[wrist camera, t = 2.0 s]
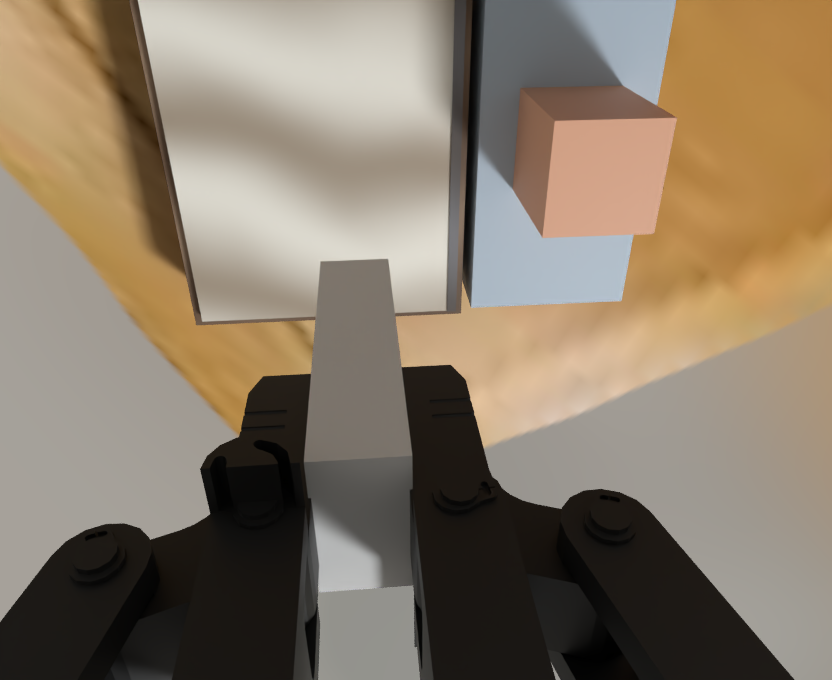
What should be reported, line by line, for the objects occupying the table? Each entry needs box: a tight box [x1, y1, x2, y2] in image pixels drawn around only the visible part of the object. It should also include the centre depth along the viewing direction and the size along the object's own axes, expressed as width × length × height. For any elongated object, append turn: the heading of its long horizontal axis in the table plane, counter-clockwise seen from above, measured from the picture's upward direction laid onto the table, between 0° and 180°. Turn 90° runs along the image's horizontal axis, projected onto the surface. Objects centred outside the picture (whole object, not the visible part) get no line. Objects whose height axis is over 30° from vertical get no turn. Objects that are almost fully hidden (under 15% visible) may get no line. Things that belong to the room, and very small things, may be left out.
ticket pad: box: [129, 0, 473, 325], centre depth 27 cm, size 16×12×4 cm
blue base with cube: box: [462, 0, 677, 308], centre depth 26 cm, size 15×7×8 cm, turn 0°
